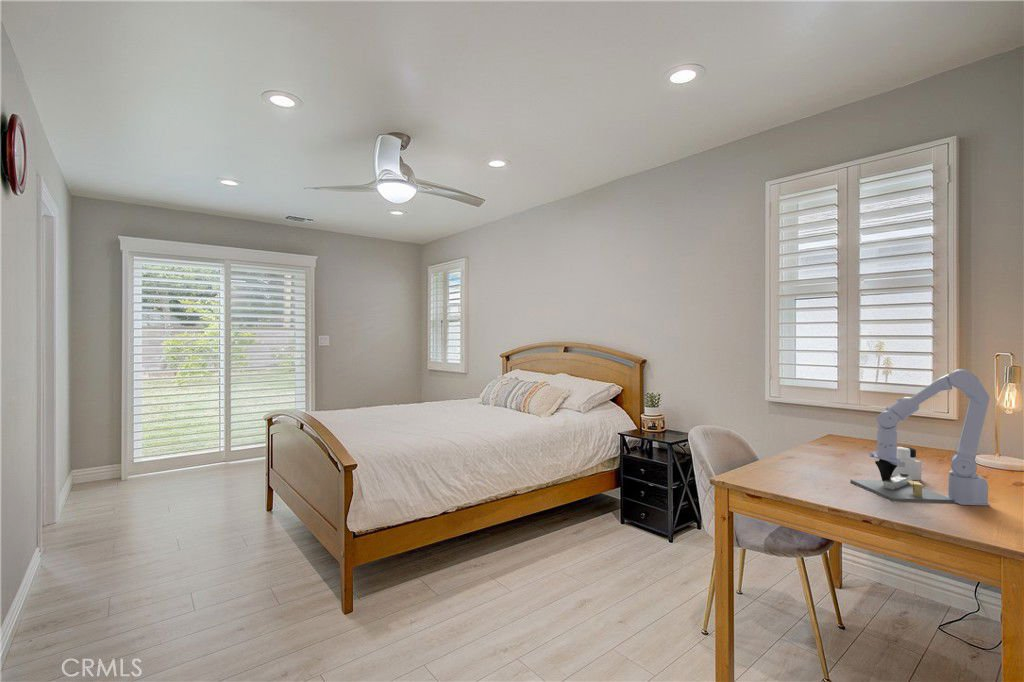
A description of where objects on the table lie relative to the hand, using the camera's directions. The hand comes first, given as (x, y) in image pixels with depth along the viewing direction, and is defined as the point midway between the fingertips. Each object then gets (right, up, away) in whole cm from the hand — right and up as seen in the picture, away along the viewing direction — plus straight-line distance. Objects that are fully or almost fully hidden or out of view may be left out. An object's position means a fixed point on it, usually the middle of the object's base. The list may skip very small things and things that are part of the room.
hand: (885, 481), depth 176 cm
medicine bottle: (+18, -3, +13) cm, 22 cm away
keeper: (+2, -1, -10) cm, 11 cm away
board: (+1, -2, -4) cm, 5 cm away
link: (+3, -1, -1) cm, 4 cm away
